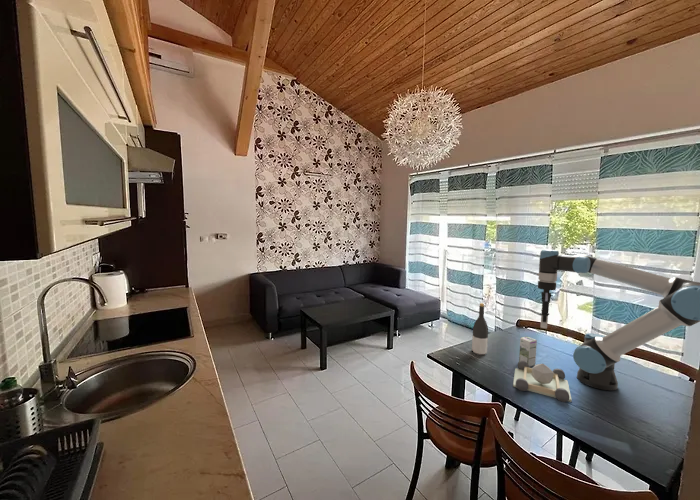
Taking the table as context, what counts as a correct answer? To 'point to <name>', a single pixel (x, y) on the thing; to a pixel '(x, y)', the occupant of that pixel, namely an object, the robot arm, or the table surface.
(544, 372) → the die
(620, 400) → the table surface
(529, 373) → the chassis
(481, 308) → the wine bottle
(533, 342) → the syrup box
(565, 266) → the robot arm
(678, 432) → the table surface
